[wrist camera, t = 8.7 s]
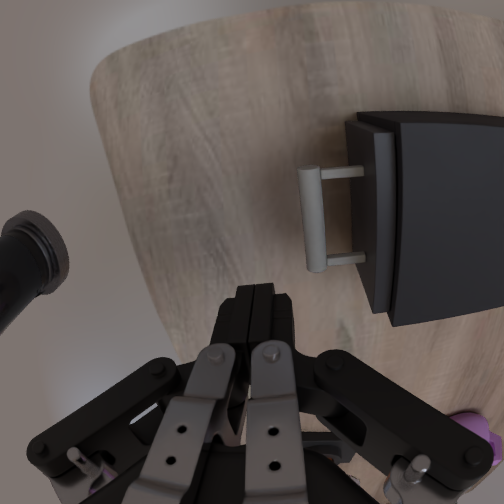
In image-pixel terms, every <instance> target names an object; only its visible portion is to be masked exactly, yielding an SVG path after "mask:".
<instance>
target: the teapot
mask: <svg viewBox="0 0 504 504" xmlns="http://www.w3.org/2000/svg"><path fill="white" fill-rule="evenodd" d="M449 418H451V419H453V420H454V421H456V422H457V423H459V424H461V425H462V426H464V427H466V428H467V429H469V430H471V431H472V432H474V433H475V434H477V435H479V436H480V437H482V438H484V439H485V440H487V441H488V442H489V443H490V445H491V446H492V448H493V451H494V461H493V464H492V465H497V464H498V463H499V462H500V461H501V460H502V441H501V436H499V435H496V434H494V433H492V432H490V431H489V426H488V422H487V420H486V418H485V417H483V416H481V415H479V414H475V413H471V412H467V413H461V414H457V415H454V416H451V417H449Z"/></svg>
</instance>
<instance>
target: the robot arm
mask: <svg viewBox="0 0 504 504" xmlns="http://www.w3.org/2000/svg"><path fill="white" fill-rule="evenodd" d="M52 276H53V268H52V262H51V259H50V256H49V254H48V251H47V249H46V248H45V246H44V244H43V243H42V241H41V240H40V239H39V238H38V237H37V236H36V235H35V234H34V233H33V232H32V231H31V230H29V229H27V228H25V227H22V226H16V227H13V228H12V229H10V230H9V231H8V232H7V233H6V234H4V235H3V236H1V237H0V335H1V334H2V333H3V332H4V331H5V329H7V327H8V326H9V325H10V324H11V323H12V322H13V320H14V319H15V318H16V317H17V316H18V315H19V314H20V313H21V312H22V310H23V309H24V308H25V307H26V306H27V305H28V304H29V303H30V302H31V301H32V300H33V299H34V298H35V297H37V296H39V295H41V294H42V293H43V292H44V291H45V290H44V291H43V292H41V290H42V289H44V288H46V287H47V286H48V284H49V283H50V282H51V280H52ZM40 292H41V293H40ZM249 385H251V398H250V399H249V398H248V389H249ZM154 403H157V405H158V406H157V407H156V408H154V409H153V410H151V411H150V412H149V413H147V414H146V415H145V416H143V417H142V418H140V419H139V420H138V421H136V422H135V423H133V424H130V422H131V420H132V419H134V418H135V417H136V416H138V415H139V414H141V413H142V412H143V411H145V410H146V409H148V408H149V407H150V406H152V405H153V404H154ZM246 412H247V425H246V444H245V445H240V442H241V435H242V431H243V426H244V422H245V417H246ZM299 412H303V413H308V414H313V415H316V418H317V419H318V420H319V421H320V422H321V423H322V424H323V425H324V426H326V427H327V428H328V429H329V430H330V431H331V432H333V433H334V434H335V435H336V436H337V437H339V438H340V439H341V440H342V441H343V442H345V443H346V444H347V445H348V446H349V447H351V448H352V449H353V450H354V451H355V452H357V453H358V454H359V455H360V456H362V457H363V458H364V459H365V460H367V461H368V462H369V463H370V464H372V465H373V466H374V467H376V468H377V469H378V470H379V471H381V472H382V473H383V474H385V475H386V476H387V478H386V480H385V482H384V486H383V491H384V494H385V496H386V498H387V499H388V500H389V501H390V502H391V504H455V502H456V501H457V500H458V498H459V497H460V496H462V495H463V494H464V493H465V492H466V491H467V490H469V489H470V488H471V487H472V486H473V485H474V484H475V483H476V482H478V481H479V480H480V479H481V478H482V477H483V476H484V475H485V474H486V473H487V472H488V471H489V470H490V468H491V466H492V464H493V461H494V451H493V448H492V446H491V445H490V443H489V442H488V441H487V440H485V439H484V438H482V437H480V436H479V435H477V434H475V433H474V432H472V431H471V430H469V429H467V428H466V427H464V426H462V425H461V424H459V423H457V422H456V421H454V420H453V419H451V418H449V417H448V416H446V415H445V414H443V413H441V412H440V411H438V410H437V409H435V408H433V407H432V406H430V405H429V404H427V403H425V402H424V401H422V400H421V399H419V398H417V397H416V396H414V395H413V394H411V393H410V392H408V391H407V390H405V389H403V388H402V387H400V386H399V385H397V384H396V383H394V382H393V381H391V380H389V379H388V378H386V377H385V376H383V375H382V374H380V373H379V372H377V371H376V370H374V369H373V368H371V367H370V366H368V365H367V364H365V363H363V362H362V361H360V360H359V359H357V358H356V357H354V356H353V355H351V354H350V353H348V352H346V351H343V350H337V349H335V350H328V351H325V352H323V353H321V354H320V355H318V356H317V358H315V357H309V356H305V355H303V354H301V353H299V352H298V351H297V350H296V349H295V328H294V318H293V309H292V300H291V299H290V298H289V296H288V295H287V294H286V293H283V294H275V289H274V284H273V283H264V284H256V285H255V284H253V285H242V286H238V287H237V291H236V296H235V298H227V299H226V300H225V301H224V302H223V303H222V304H221V305H220V308H219V311H218V316H217V319H216V323H215V326H214V330H213V334H212V337H211V341H210V345H209V346H207V347H205V348H204V349H203V350H201V352H200V353H199V355H198V357H197V359H196V360H195V361H193V362H190V363H186V364H182V365H178V366H176V364H175V362H174V361H173V360H172V359H170V358H166V357H160V358H156V359H153V360H151V361H149V362H148V363H146V364H145V365H143V366H142V367H140V368H139V369H137V370H136V371H134V372H133V373H131V374H130V375H129V376H127V377H126V378H124V379H123V380H121V381H120V382H118V383H117V384H115V385H114V386H113V387H111V388H109V389H108V390H106V391H105V392H103V393H102V394H100V395H99V396H97V397H96V398H94V399H93V400H92V401H90V402H88V403H87V404H85V405H84V406H82V407H81V408H79V409H78V410H76V411H75V412H73V413H72V414H70V415H69V416H67V417H65V418H64V419H62V420H61V421H59V422H58V423H56V424H55V425H53V426H52V427H50V428H48V429H47V430H45V431H44V432H42V433H41V434H39V435H38V436H36V437H35V438H33V439H32V440H31V441H30V443H29V445H28V447H27V458H28V460H29V461H30V462H31V463H32V464H33V465H34V466H36V467H37V468H38V469H39V470H40V471H41V472H43V474H44V475H46V476H47V477H48V478H49V479H50V482H51V484H52V486H53V488H54V490H55V492H56V494H57V496H58V498H59V500H60V501H61V503H62V504H380V503H378V502H377V501H376V500H375V499H374V498H373V497H371V496H370V495H369V494H368V493H367V492H366V491H365V490H364V489H362V488H361V487H360V486H359V485H358V484H357V483H356V482H355V481H354V480H352V479H351V478H350V477H349V476H348V475H347V474H346V473H345V472H344V471H343V470H342V469H341V468H340V467H339V466H337V465H336V464H335V463H334V462H333V461H332V460H331V459H329V458H328V457H326V456H325V455H323V454H321V453H319V452H316V451H314V450H311V449H307V448H303V444H302V434H301V425H300V416H299Z"/></svg>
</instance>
